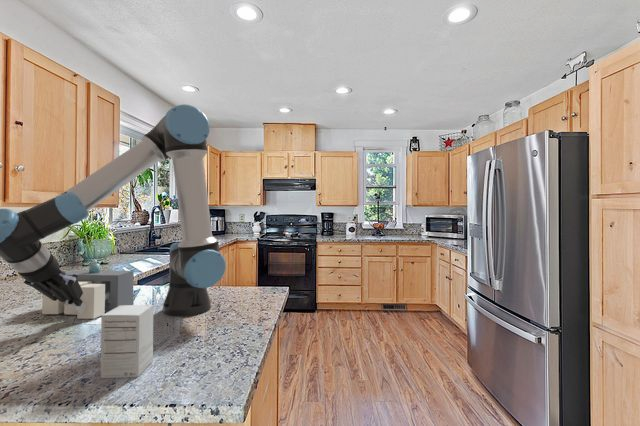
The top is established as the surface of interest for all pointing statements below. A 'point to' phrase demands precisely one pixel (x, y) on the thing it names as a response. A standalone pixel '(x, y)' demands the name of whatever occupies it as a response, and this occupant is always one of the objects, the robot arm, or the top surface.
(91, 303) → the knob
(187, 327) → the top surface
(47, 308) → the knob
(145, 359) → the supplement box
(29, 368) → the top surface
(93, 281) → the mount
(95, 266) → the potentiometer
